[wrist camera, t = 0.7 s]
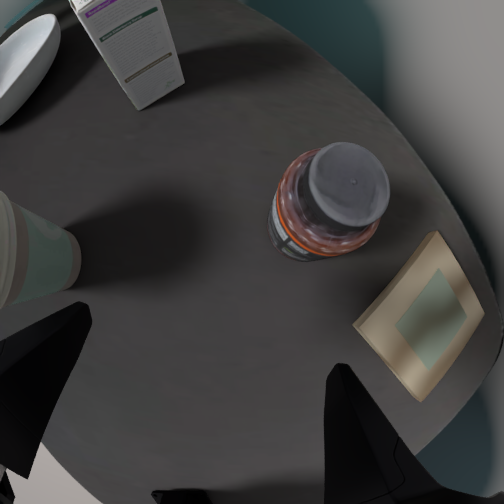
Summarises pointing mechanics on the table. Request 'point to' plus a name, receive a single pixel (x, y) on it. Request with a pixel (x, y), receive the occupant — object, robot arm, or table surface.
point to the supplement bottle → (328, 202)
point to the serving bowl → (26, 62)
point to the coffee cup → (33, 255)
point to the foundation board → (422, 317)
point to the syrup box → (133, 45)
